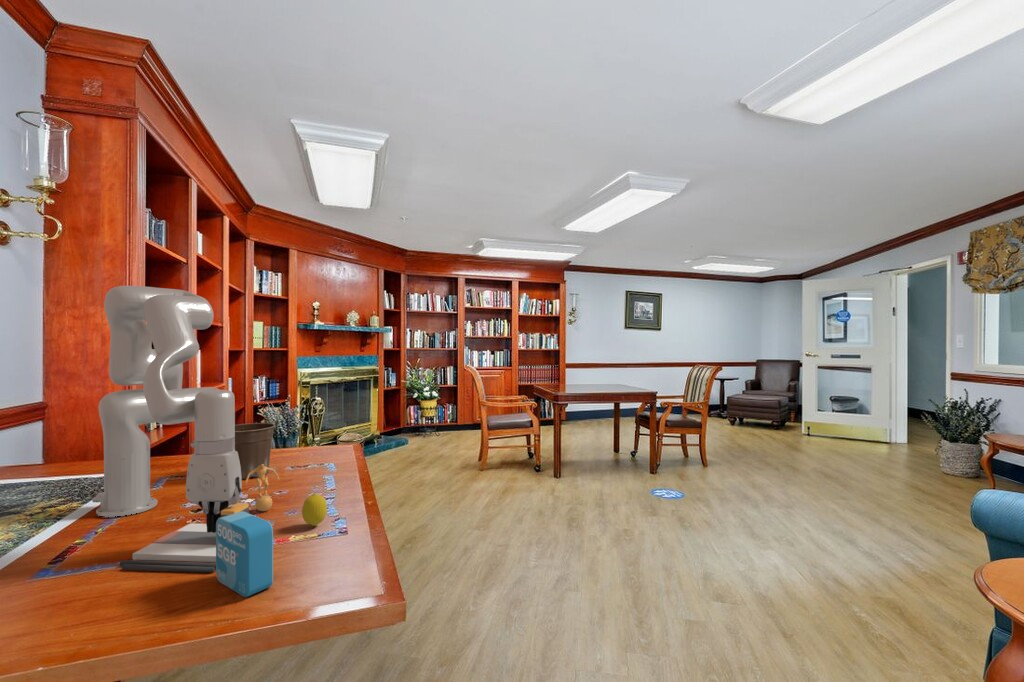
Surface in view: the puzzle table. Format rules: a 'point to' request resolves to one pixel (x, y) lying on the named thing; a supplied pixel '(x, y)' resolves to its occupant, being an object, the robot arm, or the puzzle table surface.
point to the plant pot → (253, 446)
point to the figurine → (263, 501)
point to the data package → (244, 553)
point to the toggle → (235, 509)
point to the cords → (168, 566)
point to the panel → (182, 546)
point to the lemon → (314, 509)
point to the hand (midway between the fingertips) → (215, 529)
